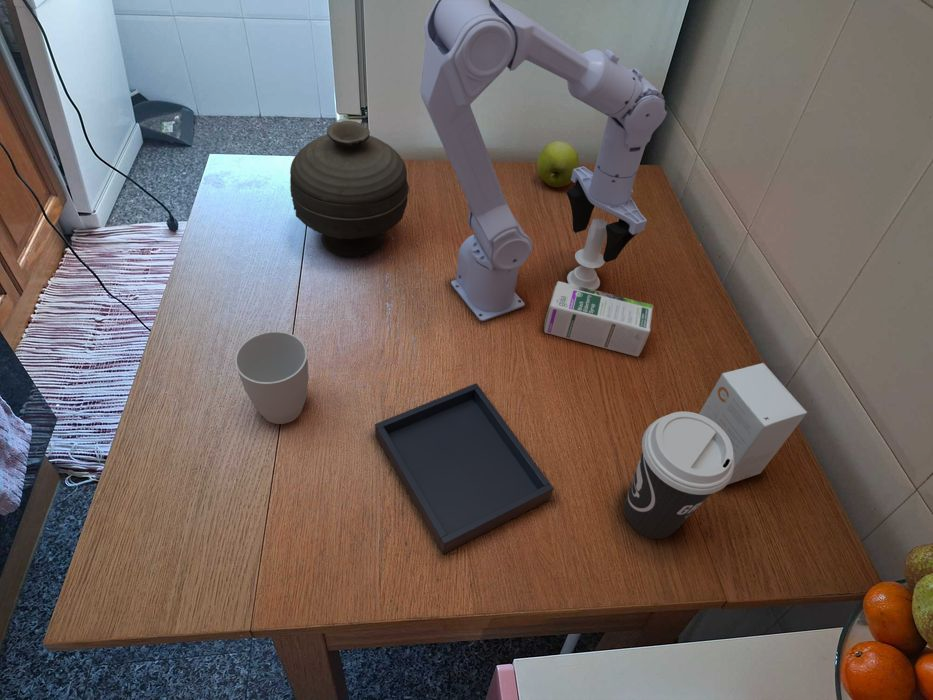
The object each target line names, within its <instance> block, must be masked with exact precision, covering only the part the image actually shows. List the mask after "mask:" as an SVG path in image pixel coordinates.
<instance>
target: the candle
mask: <svg viewBox="0 0 933 700" xmlns="http://www.w3.org/2000/svg"><path fill="white" fill-rule="evenodd" d="M608 224H609V223H607V222H606V221H605V219H602V218H593V219H592V221H591V222H590V226H589V228H588V230H587V237H586V240H585V244H584V247H583V248H581V249H579V250H576V252H575V254H574V259H575V261H576V263H577V264H579V266H577V267H575V268H574V269H573V270H571V271H569V273H568V274H567V276H566V280H567V283H568V284H572V285H576V286H580V287H584V288H588V289H592V290H596V291H597V290H598V289H599V287H600V285H601V280H600V278H599V276H598V273H597V271H596V270H595V269H598V268H601V267H603V266H604V264H605V263H606V262H605V261H604V260H603V255H604V254H602V253H601V251H602V248H603V245H604V242H606V240H607V232H606V225H608Z"/></svg>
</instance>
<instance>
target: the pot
mask: <svg viewBox="0 0 933 700" xmlns="http://www.w3.org/2000/svg"><path fill="white" fill-rule="evenodd" d="M370 134H371V131H370V129H368V127H367V128H366V127H365V126H364V125H363V124H362V123H360V122H359V121H356V120H355V121H354V120H342V121H336V122H333V123H331V124H329V125H328V127H327V129H326V134H325V135H321V136H319V137H317V138H314V140H311V141H310V142H309V143H307V144H305V145H304V147H302V148H301V149H299V151H298V152H297V154H296V155H294V157H293V159H292V162H291V164H290V169H289V170H290V171H289V175H290V176H289V177H290V178H289V183H290V186H289V188H290V189H289V190H290V196H291V199H292V200H291V201H292V206H293V210H294V211H295V217H296V218H297V219H298V220H299V221H300V222H302V223H303V224H304V225H305V226H306V227H308V228H310V229H312V230H313V231H314V232H316V233H318V234H320V235H321V238H320V240H321V245H322V247H323V248H324V249H325V250H326V251H327V252H329V253H330V254H332V255H334V256H335V257H336V256H337V257H338V258H343V259H354V260H355V259H361V258H366V257H369V256H370V255H372V254H375V253H376V252H378V250H380V249H381V248H382V246H383V244H384V241H385V236H384V233H387V232H388V231H389V230H391V229H392V228H394V227H395V226H397V224H398V223H399V222H400V221H401V220H402V219H403V217H404V215H405V211H406V209H407V206H408V201H409V199H408V198H409V197H408V196H409V191H410V185H409V182H408V170H407V167H406V164H405V162H404V160H403V159H402V156H401V155H400V154H399V153H398V151H396V150H395V149H394V148H393V147H392V146H391V145H390V144H388V143H387V142H385V141H383V140H381V139H379V138H377V137H376V136H372V135H370Z"/></svg>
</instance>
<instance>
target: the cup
mask: <svg viewBox="0 0 933 700" xmlns="http://www.w3.org/2000/svg"><path fill="white" fill-rule="evenodd" d="M234 364H235V368H236V371H237V373H238V377H239V378H240V382H241V384H242V386H243V389H244V392H245V394H247V396H248V398H249V400H250V401H251V403H252V405H253V406H254V408H255V409H256V411H258V413H259V414H260V415H261V416H263V418H264V419H265V420H266V421H268V422H269V423H272V424H275V425H284V424H288V423H291V422H293V421H295V420H296V419H297V418H298V417H299V416H300V415H301V413H302V411H303V409H304V406H305V403H306V400H307V395H308V387H309V385H308V384H309V363H308V351H307V347H306V345H305V343H304V342H303V341H302V340H301V338H299V337H298V336H296V335H294V334H292V333H290V332H285V331H280V330H279V331H278V330H272V331H265V332H261V333H258V334H255V335H253V336H252V337H249V338H248V339H246V340H245V341H244V342H243V343H242V344H241V345H240V347H239V348H238V349H237V351H236V354H235V356H234Z"/></svg>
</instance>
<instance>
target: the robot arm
mask: <svg viewBox="0 0 933 700" xmlns="http://www.w3.org/2000/svg"><path fill="white" fill-rule="evenodd" d="M487 1H488V3H487V2H486V1H485V0H435V1H434V3H433V5H432V7H431V9H430V11H429V13H428V15H427V17H426V18H425V20H424V22H423V30H424V40H425V47H424V53H423V63H422V71H421V79H420V80H421V81H420V87H419V88H420V89H419V90H420V96H421V99H422V102H423V104H424V107H425V109H426V111H427V113H428V116H429V118H430V120H431V122H432V124H433V127H434V129H435V131H436V133H437V136H438V138H439V140H440V143H441V145H442V147H443V149H444V152H445V154H446V156H447V158H448V160H449V163H450V165H451V167H452V170H453V172H454V174H455V177H456V179H457V182H458V183H459V185H460V187H461V190H462V192H463V195H464V196H465V199H466V201H465V203H466V205H467V207H468V218H467V222H468V226H469V228H470V229H471V230H472V232H473V234H471V235H470V236H468V237H467V238H466V239H465V240H464V241H463V243H462V244H461V245H460V247H459V250H458V254H457V257H458V258H457V265H456V275H455V279H453V280H451V281H450V285H451V287H452V288H453V289H454V290H455V292H456V293H457V294H458V295H459V297H460V298H461V299H462V300H463V302H464V303H465V304H466V306H467V307H468V308H469V310H470V311H471V312H472V313H473V314H474V315H475V317H476V318H477V320H478V321H479V322H486V321H488V320H491V319H494V318H497V317H499V316H503V315H505V314H509V313H511V312H513V311H517V310H519V309H521V308H524V307H525V302H524V300H522V298H521V297H520V296H519V295H518V294H517V292H516V287H517V282H518V276H519V270H520V268H521V266H522V265H523V264H525V263H526V262H527V260H528V259H529V258H530V256H531V254H532V252H533V246H534V245H533V242H532V239H531V238H530V236H529V235H527V234H526V232H525V231H524V229H523V228H522V226H521V225H520V222H519V221H518V219H517V218H516V217H515V216H514V213H513V212H512V210H511V208H510V206H509V204H508V202H507V200H506V197H505V194H504V191H503V189H502V186H501V184H500V181H499V178H498V175H497V173H496V170H495V168H494V165H493V162H492V160H491V157H490V155H489V152H488V148H487V147H486V144H485V141H484V138H483V136H482V133H481V131H480V130H481V129H480V127H479V125H478V123H477V120H476V117H475V114H474V112H473V109H472V106H471V104H472V103H473V102H474V101H475V100H476V99H477V98H478V97H479V96H480V95H481V94H482V93H483V92H484V91H485V90H487V88H488V87H489V86H490V85H491V84H492V83H493V82H494V81H495V80H496V79H497V78H498V77H499V76H500V74H502V73H503V72H504V70H505V69H506V68H507V69H508V70H509V71H510V72H511V71H513V72H514V71H515V70H516V69H517V68H518V67H519V66H520V65H522V63H524V62H525V61H528V62H529V63H531V64H533V65H535V66H538V67H540V68H542V69H544V70H545V71H548V72H549V73H552V74H554V75H555V76H557V77H559V78H561V79H564V80H565V81H567V89H568V92H569V94H570V96H572V97H573V98H575V99H576V100H578V101H579V102H581V103H584V104H585V105H587V106H589V107H591V108H593V109H594V110H596V111H598V112H600V113H601V114H603V115H605V116H607V120H606V124H605V127H604V131H603V136H602V138H601V143H600V147H599V150H598V154H597V157H596V162H595V166H594V169H593V171H591V170H590V169H588V168H587V167H585V166H584V165H583V166H579V168H575V169H573V173H572V177H571V180H572V182H573V184H574V185H573V186H571V187H568V188H567V190H566V196H567V198H568V200H569V204H570V209H571V217H572V218H571V219H572V231H573V232H574V233H575V234H577V233H580V232H584V231H586V230H587V228H588V226H589V223H590V221H591V217H592V215H593V211H594V209H595V207H596V208H599V209H600V210H602V211H604V212H606V213H608V214H610V215H612V216H614V217H616V218H618V221H614V222H611V223H608V225H606V232H607V234H606V241H605V242H606V243H605V248H604V251H603V254H602V255H603V260H604V261H605V263H609V262H612V261H615V260H617V259H618V256H619V255H620V253H621V252H622V251H623V250H624V248H625V247H626V245H628V243H629V242H630V241H631V240H632V239H633V238H634V237H636V236H637V235H638V234H641V233H642V232H644V231H645V228H646V225H647V222H648V219H646V218H645V216H644V215H643V214H642V213H641V211H640V209H639V208H638V206H637V204H636V203H635V200H634V199H633V197H632V195H634V194H633V193H634V189H633V186H634V183H635V181H636V178H637V177H636V176H637V173H638V170H639V169H640V164H641V161H642V158H643V155H644V151H645V149H646V146H647V145H648V143H649V142H651V139H652V136H653V133H654V132H655V131H656V130H657V129H658V128H659V126H661V124H663V121H664V120H665V119H666V116H667V115H668V111H667V110H665V104H666V101H665V97H664V95H663V93H662V92H660V91H659V90H658V89H657V88H656V86H654V85H653V84H652V83H650V81H648V79H646V78H645V77H644V74H643V73H642V72H641V71H640V70H638V69H637V68H627V67H626V66H624V65H623V64H622V63H619V61H620V57H619V56H618V55H617V54H616V53H615V52H613V51H612V50H610V49H606V50H605V51H604V52H602V51H601V50H599V49H590V50H586V51H585V52H583V53H581V52H580V51H578V50H577V49H575V48H574V47H573V46H571V45H569V44H568V43H566V41H564V40H563V39H561V38H559V37H558V36H556V35H555V34H554V33H552V32H551V31H549V30H548V29H546V28H545V27H544V26H542V25H541V24H539V23H537V22H536V21H534V20H533V19H532V18H530V17H529V16H527V15H526V14H524V13H523V12H521V11H519V10H518V9H516V8H514V7H512V6H511V5H509V4H508V3H505V2H504V1H501V0H487Z"/></svg>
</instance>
